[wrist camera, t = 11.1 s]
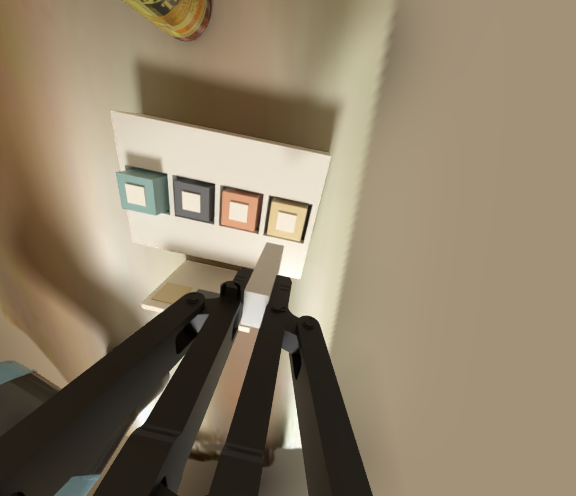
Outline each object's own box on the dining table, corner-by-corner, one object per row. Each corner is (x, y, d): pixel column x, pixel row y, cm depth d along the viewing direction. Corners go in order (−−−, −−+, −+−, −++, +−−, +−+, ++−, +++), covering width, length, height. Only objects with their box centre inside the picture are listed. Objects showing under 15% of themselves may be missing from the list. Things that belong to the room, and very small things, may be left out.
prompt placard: (186, 263, 38) (141, 308, 28) (186, 258, 38) (140, 302, 28) (266, 281, 38) (249, 332, 28) (267, 276, 37) (249, 327, 28)
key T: (272, 222, 31) (266, 234, 27) (277, 193, 29) (271, 201, 26) (301, 229, 31) (299, 242, 27) (308, 199, 29) (307, 209, 25)
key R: (145, 199, 30) (120, 208, 27) (141, 167, 28) (114, 172, 25) (175, 206, 30) (155, 216, 26) (173, 174, 28) (151, 180, 24)
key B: (232, 214, 31) (220, 224, 28) (234, 184, 29) (221, 191, 26) (261, 220, 31) (253, 232, 27) (265, 190, 29) (257, 199, 26)
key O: (191, 205, 31) (175, 215, 28) (191, 175, 29) (172, 181, 26) (220, 211, 31) (207, 222, 28) (222, 181, 29) (208, 188, 26)
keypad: (155, 228, 36) (132, 242, 31) (142, 113, 28) (109, 110, 24) (302, 260, 35) (300, 279, 31) (329, 152, 28) (331, 156, 23)
